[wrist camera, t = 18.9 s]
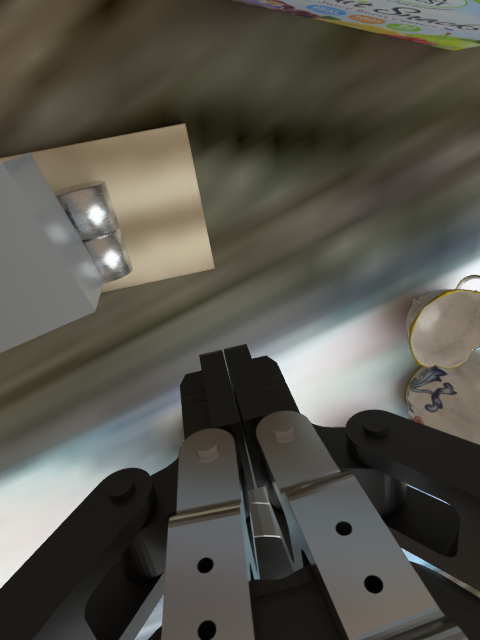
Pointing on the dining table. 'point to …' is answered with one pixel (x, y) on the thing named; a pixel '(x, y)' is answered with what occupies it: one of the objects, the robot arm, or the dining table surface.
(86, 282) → the slab
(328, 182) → the dining table surface
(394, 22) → the snack box
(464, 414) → the chinaware
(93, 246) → the cylinder
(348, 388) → the dining table surface
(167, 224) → the deck
